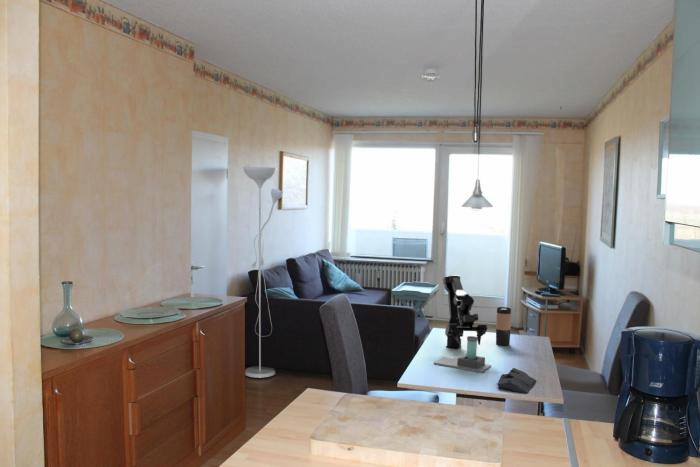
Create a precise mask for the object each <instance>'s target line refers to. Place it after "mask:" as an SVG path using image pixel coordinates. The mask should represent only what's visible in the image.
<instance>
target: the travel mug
mask: <svg viewBox="0 0 700 467" xmlns="http://www.w3.org/2000/svg"><path fill="white" fill-rule="evenodd" d="M511 324H512V308H510V307H505V306H500V307H499V306H498V307H497V308H496V324H495V326H496V327H495V344H496V345H497V346H500V347H508V346H510V345H511V344H510V341H511V329H512V328H511V327H512V326H511Z"/></svg>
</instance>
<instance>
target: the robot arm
mask: <svg viewBox="0 0 700 467" xmlns="http://www.w3.org/2000/svg"><path fill="white" fill-rule="evenodd" d="M442 284H443V286H444V290H445V291H446V292H447V298H448V309H449V310H448V311H449V319H448V321H447V323H446V328H445V329H444V330H445V331H444V335H445V336H446V339H447V340H446V345H445V348H447V347H449V348H448V349H456V350H458V349H460V348H461V347H462V338H463V336H464V332H476V337H477V345H478V346H480V345H481V339H482V336H483V335H486V333H487V330H488V325H487V324H486V323H479V324H478V325H477V326H474V325H475V322H478V321H479V314H478V313H473V314H471V312H470V311H471V310H472V308H473V305H474V302H475V299H474V298H473V297H472V296H470V294H468V292H466V291H465V290H464V288H463V285H462V281H461V276H460V275H458V274H451V275H446V276H444V277H443V278H442ZM461 337H462V338H461Z"/></svg>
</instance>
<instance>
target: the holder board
mask: <svg viewBox="0 0 700 467" xmlns="http://www.w3.org/2000/svg"><path fill="white" fill-rule="evenodd" d="M433 364H434V365H437V366H441V367H442V366H443V367H447V366H448V367H449V368H454V369H459V370H465V371H470V372H476V373H481V374H483V373H484V372H486V371H487V370H489V369H490V368H491V367H492V365H491V364H487V363H486V358H485V356H478V355H476V360H470V359H467V353H465V354H464V353H463V354H462V355H461V356H460V357H458V358H452V357H445V356H442V357H441V358H439V359H437V360H436V361H434V362H433ZM448 367H447V368H448Z"/></svg>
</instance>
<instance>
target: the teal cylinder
mask: <svg viewBox="0 0 700 467" xmlns="http://www.w3.org/2000/svg"><path fill="white" fill-rule="evenodd" d="M466 342H467V344H466V354H467V359H470V360H476V356H477V350H478V349H477V348H478V347H477V346H478V340H477V336H473V335H469V336H466Z"/></svg>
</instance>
